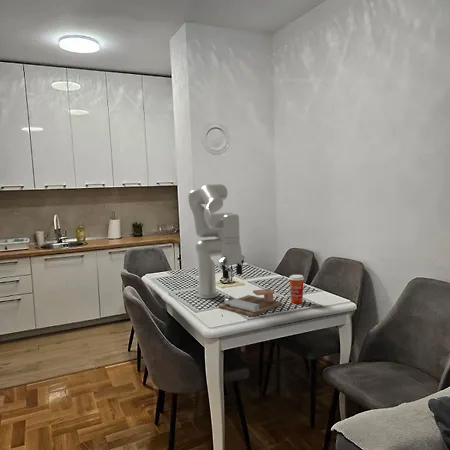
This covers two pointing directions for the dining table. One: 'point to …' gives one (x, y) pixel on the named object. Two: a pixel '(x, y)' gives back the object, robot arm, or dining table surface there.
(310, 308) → the dining table surface
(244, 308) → the link
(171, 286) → the dining table surface
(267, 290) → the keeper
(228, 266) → the robot arm
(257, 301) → the board
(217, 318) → the dining table surface
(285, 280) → the dining table surface
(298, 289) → the paper cup
